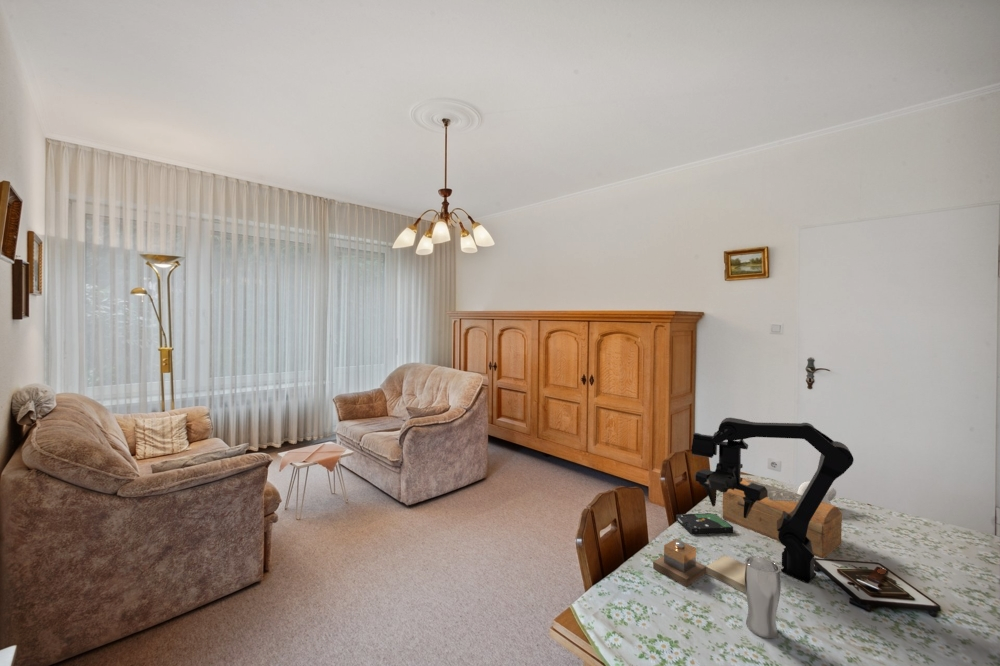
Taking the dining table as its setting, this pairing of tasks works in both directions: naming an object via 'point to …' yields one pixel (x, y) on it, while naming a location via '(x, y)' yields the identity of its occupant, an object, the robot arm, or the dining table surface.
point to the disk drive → (704, 524)
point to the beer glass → (762, 595)
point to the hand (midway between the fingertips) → (729, 511)
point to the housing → (680, 555)
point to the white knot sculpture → (828, 496)
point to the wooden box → (769, 510)
